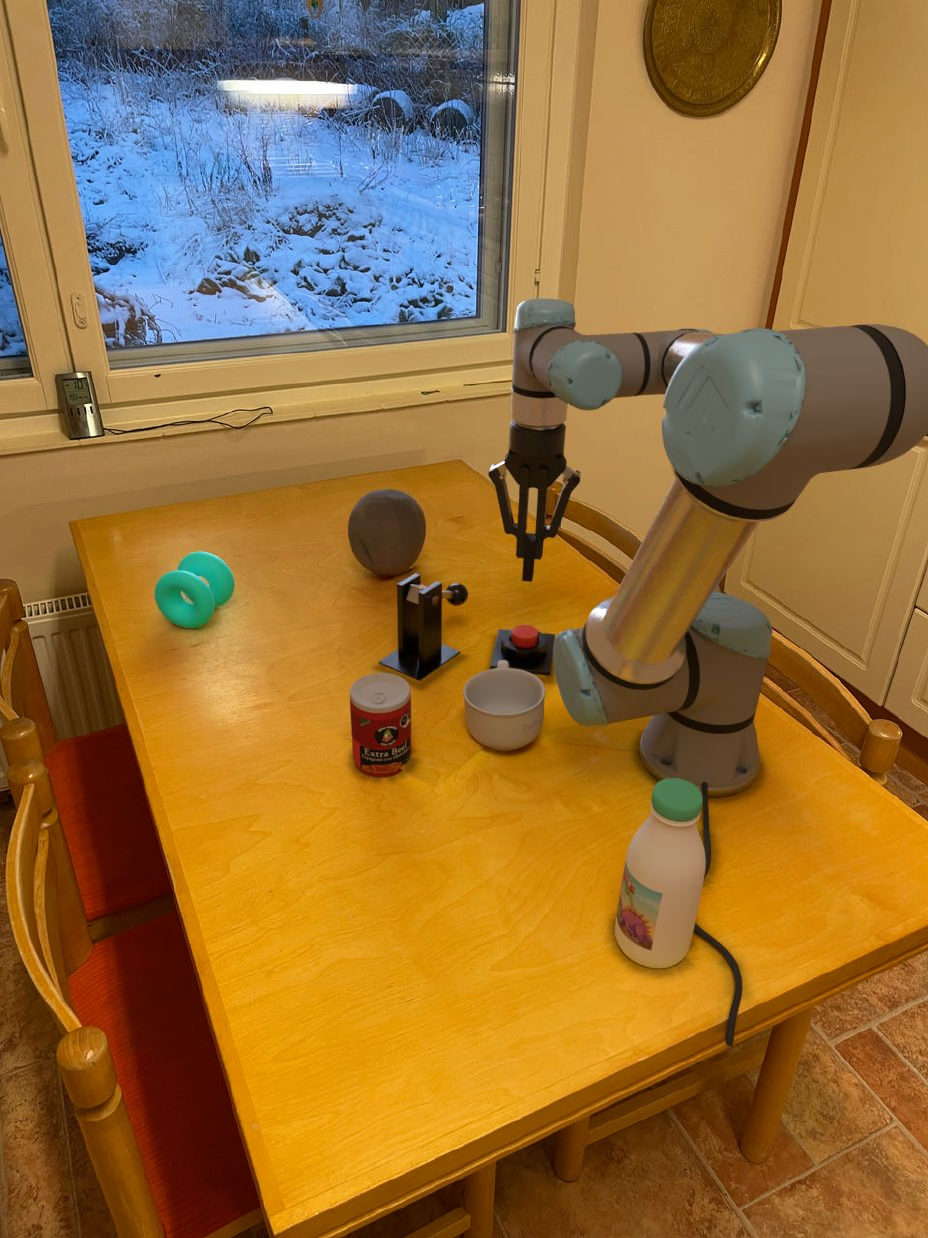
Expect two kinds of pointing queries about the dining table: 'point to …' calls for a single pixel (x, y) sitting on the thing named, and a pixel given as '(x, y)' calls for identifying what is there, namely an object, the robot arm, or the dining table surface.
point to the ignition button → (524, 636)
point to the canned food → (381, 724)
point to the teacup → (504, 707)
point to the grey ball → (387, 531)
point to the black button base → (525, 653)
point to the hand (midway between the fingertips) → (527, 577)
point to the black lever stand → (419, 632)
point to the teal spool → (194, 589)
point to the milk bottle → (663, 878)
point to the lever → (453, 593)
